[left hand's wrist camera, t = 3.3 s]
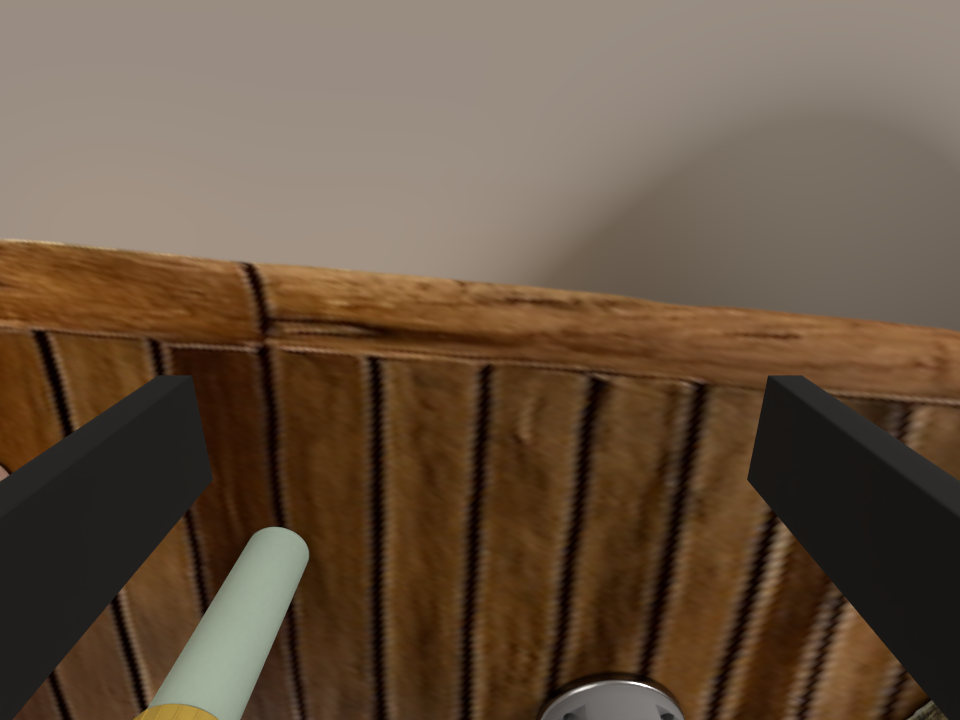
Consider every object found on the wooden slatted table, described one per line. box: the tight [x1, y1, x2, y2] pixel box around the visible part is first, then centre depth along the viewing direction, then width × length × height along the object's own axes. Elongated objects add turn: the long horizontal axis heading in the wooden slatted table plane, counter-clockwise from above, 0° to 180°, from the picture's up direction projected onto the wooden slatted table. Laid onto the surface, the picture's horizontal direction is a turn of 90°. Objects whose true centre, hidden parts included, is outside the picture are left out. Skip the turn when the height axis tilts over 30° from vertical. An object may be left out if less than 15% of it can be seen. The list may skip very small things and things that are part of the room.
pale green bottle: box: [147, 527, 309, 720], centre depth 40 cm, size 6×6×18 cm
